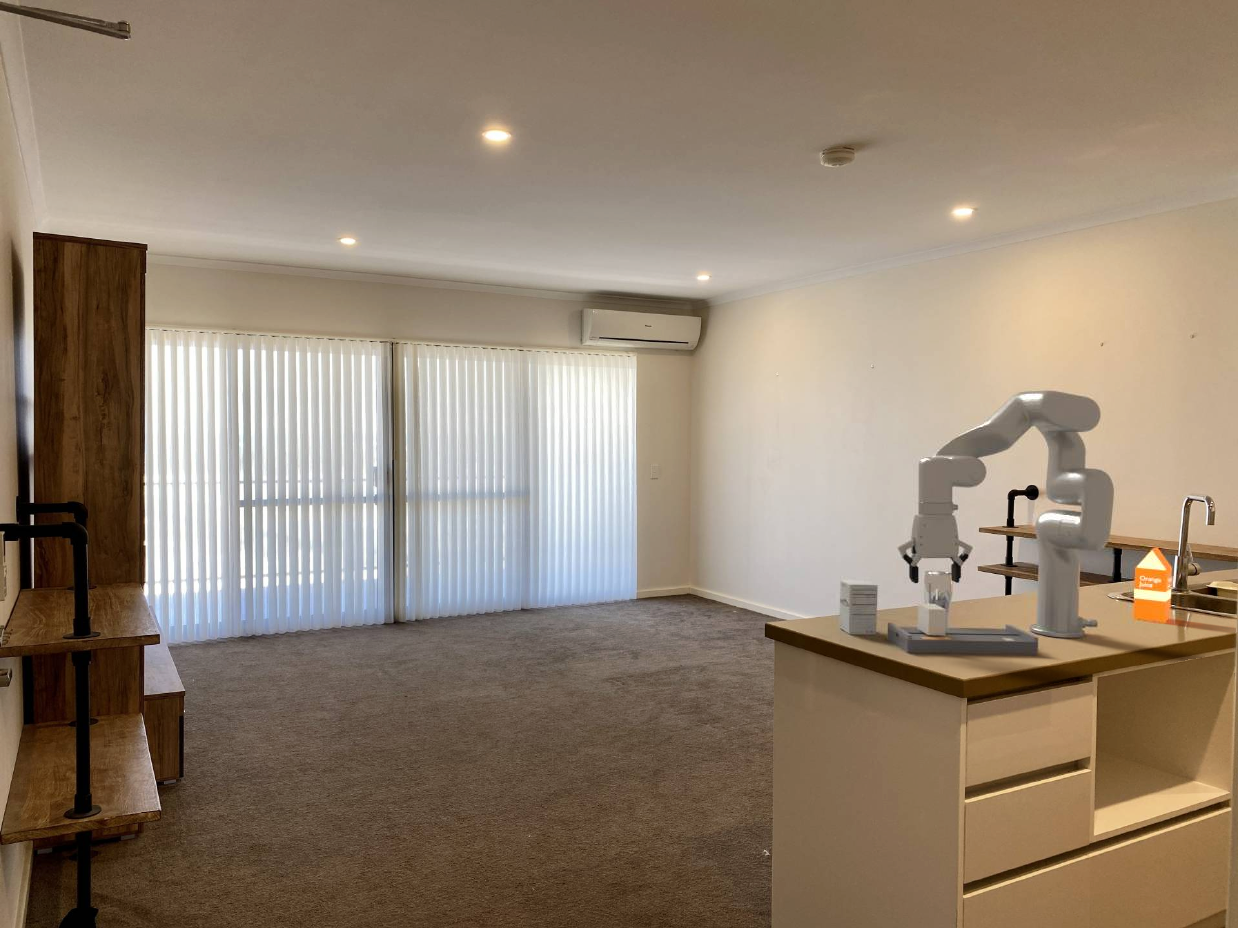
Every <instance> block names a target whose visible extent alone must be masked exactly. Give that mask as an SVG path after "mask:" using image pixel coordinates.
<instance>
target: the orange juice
mask: <svg viewBox="0 0 1238 928" xmlns="http://www.w3.org/2000/svg"><path fill="white" fill-rule="evenodd" d="M1172 573H1173V567H1172V566H1171V564H1170V563H1169V562H1168V560H1167V559H1166V557H1165V556H1164V555H1163V553H1162V552H1161V550H1160V549H1159V547H1158V546H1156V547H1154V548H1152V549H1151V550H1150V551H1149V553H1148V554H1147V555H1146V556H1145V557H1144V558H1143V559H1142V560H1141V561H1140V562H1139V564H1138V565H1136V567H1135V569H1134V589H1133V590H1134V591H1133V618H1132V619H1133V620H1136V619H1142V620H1141V621H1143V620H1148V621H1147V622H1151V621H1158V622H1162V623H1161V624H1165V623H1167V622H1168V621H1169V620H1170V619H1171V602H1172V601H1171V599H1172V577H1173V576H1172ZM1169 618H1170V619H1169ZM1168 619H1169V620H1168ZM1167 620H1168V621H1167ZM1166 621H1167V622H1166ZM1158 622H1157V623H1158Z"/></svg>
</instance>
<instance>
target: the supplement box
mask: <svg viewBox="0 0 1238 928" xmlns="http://www.w3.org/2000/svg"><path fill="white" fill-rule="evenodd" d="M839 586H840V588H839V589H840V591H839V596H840V597H839V620H838V621H839V622H838V623H839V624H838V628H839V629H840V630H842V631H844V632H846V633H847V634H848V635H857V636H859V635H862V636H863V635H867V636H868V635H869V636H870V635H872V636H873V634H874V635H877V623H878V622H877V617H878V595H879V594H878V589H879V587H878V586H879V585H878V584H875V583H874V582H871V581H869V580H867V579H841V580H840V585H839Z"/></svg>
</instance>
